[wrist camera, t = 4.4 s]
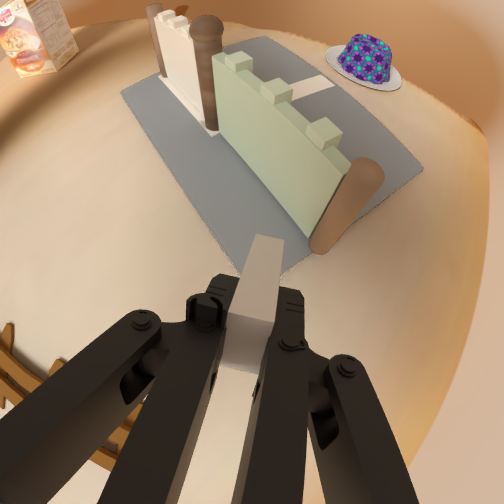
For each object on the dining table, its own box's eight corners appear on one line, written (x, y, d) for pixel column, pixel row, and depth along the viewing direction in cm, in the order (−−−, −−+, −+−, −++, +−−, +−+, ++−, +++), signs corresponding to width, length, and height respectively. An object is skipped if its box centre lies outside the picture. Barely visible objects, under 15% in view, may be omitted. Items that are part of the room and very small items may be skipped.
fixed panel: (160, 76, 30) (143, 7, 19) (173, 70, 30) (159, 1, 20) (202, 122, 27) (187, 33, 16) (217, 115, 28) (209, 26, 17)
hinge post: (199, 125, 27) (181, 16, 15) (220, 115, 28) (212, 8, 15) (211, 139, 26) (196, 25, 14) (234, 128, 27) (229, 16, 14)
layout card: (120, 93, 29) (119, 91, 29) (264, 37, 34) (265, 35, 33) (253, 293, 22) (253, 291, 21) (422, 170, 26) (424, 167, 26)
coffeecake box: (20, 79, 34) (-14, 19, 15) (40, 58, 36) (12, -2, 17) (57, 73, 33) (20, -5, 14) (81, 50, 35) (52, -25, 16)
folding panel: (215, 133, 26) (205, 45, 16) (232, 125, 26) (228, 38, 16) (317, 259, 22) (369, 193, 12) (335, 246, 22) (392, 177, 12)
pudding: (412, 99, 31) (426, 74, 26) (338, 89, 30) (348, 58, 25) (381, 54, 34) (390, 32, 29) (315, 45, 34) (320, 18, 29)
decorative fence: (147, 497, 16) (170, 412, 19) (141, 506, 14) (163, 418, 17) (-23, 376, 18) (-12, 303, 21) (-34, 376, 16) (-23, 300, 19)
